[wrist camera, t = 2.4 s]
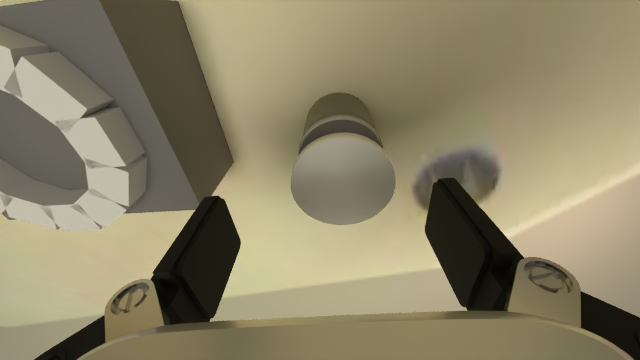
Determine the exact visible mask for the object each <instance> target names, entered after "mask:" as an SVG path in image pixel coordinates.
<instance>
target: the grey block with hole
mask: <svg viewBox="0 0 640 360" xmlns="http://www.w3.org/2000/svg"><path fill="white" fill-rule="evenodd" d="M232 164H233V160H232V157H231V154H230V151H229V148H228V145H227V142H226V139H225V136H224V134H223V131H222V128H221V125H220V122H219V119H218V116H217V113H216V110H215V108H214V105H213V102H212V99H211V96H210V93H209V90H208V87H207V85H206V82H205V79H204V76H203V73H202V70H201V67H200V64H199V61H198V59H197V56H196V53H195V50H194V47H193V44H192V41H191V38H190V35H189V33H188V30H187V27H186V24H185V21H184V18H183V15H182V12H181V9H180V7H179V4H178V1H169V0H44V1H37V2H30V3H23V4H15V5H8V6H1V7H0V213H1V214H3V215H4V216H5V217H6V218H8V219H9V220H14V219H18V220H22V221H25V222H29V223H32V224H36V225H40V226H43V227H47V228H50V229H54V230H58V229H59V228H61V229H62V230H63V231H76V230H97V229H101V228H102V227H104V228H106V227H107V226H108V225H109V224H111V223H112V222H113V221H114V220H116V219H117V218H118V217H119V216H121V215H122V214H124V213H143V212H161V211H180V210H196V209H197V207H198V206H199V204H200V203H201V201H202V200H203V198H204V197H208V196H211V195H212V194H213V192H214V191H215V189H216V188H217V186H218V185H219V183H220V182H221V180H222V179H223V177H224V176H225V174H226V173H227V171H228V170H229V168H230V167H231V165H232Z"/></svg>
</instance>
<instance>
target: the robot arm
mask: <svg viewBox="0 0 640 360" xmlns="http://www.w3.org/2000/svg"><path fill="white" fill-rule="evenodd" d="M425 233H426V236H427V238H428V240H429V242H430V244H431V246H432V248H433V250H434V252H435V254H436V256H437V258H438V260H439V262H440V264H441V266H442V268H443V270H444V272H445V274H446V277H447V279H448V281H449V283H450V285H451V287H452V288H453V291H454V293H455V295H456V297H457V299H458V301H459V303H460V304H461V306H463V307H466V308H467V310H468V311H445V312H444V311H442V312H415V313H387V314H363V315H340V316H317V317H295V318H273V319H253V320H233V321H215V322H209V321H210V319H211V318H213V317H214V316H215V314H216V311H217V309H218V306H219V303H220V300H221V298H222V295H223V292H224V290H225V287H226V284H227V282H228V279H229V276H230V273H231V271H232V268H233V265H234V263H235V260H236V257H237V254H238V252H239V249H240V245H241V241H240V238H239V235H238V233H237V230H236V228H235V225H234V223H233V220H232V218H231V215H230V213H229V210H228V207H227V205H226V202H225V200H224V199H221V198H220V197H219V196H208V197H204V198H203V200H202V201H201V203H200V204H199V206H198V207H197V209H196V210H195V212H194V213H193V215H192V216H191V217H190V219H189V220H188V222H187V223H186V225H185V226H184V228H183V229H182V231H181V232H180V233H179V235H178V236H177V238H176V239H175V241H174V242H173V244H172V245H171V247H170V248H169V250H168V251H167V252H166V254H165V255H164V257H163V258H162V260H161V261H160V263H159V264H158V266H157V267H156V269H155V270H154V271H153V274H154V275H153V277H152V278H151V280H149V279H140V280H136V281H133V282H131V283H129V284H127V285H126V286H124V287H122V288H121V289H120V290H119V291H117V292H116V293H115V294H114V295H113V296H112V298H111V299H110V300H109V302H108V303H107V305H106V308H105V315H104V316H102V317H101V318H99V319H97V320H96V321H94V322H93V323H91V324H89V325H88V326H86V327H85V328H83V329H81V330H80V331H78V332H77V333H75V334H73V335H72V336H70V337H69V338H67V339H65V340H64V341H62V342H60V343H59V344H57V345H56V346H54V347H52V348H51V349H49V350H48V351H46V352H44V353H43V354H42V355H40V356H39V357H37V358H36V359H34V360H640V318H639V317H637V316H635V315H632V314H630V313H628V312H626V311H624V310H622V309H619V308H617V307H615V306H613V305H610V304H608V303H606V302H604V301H602V300H599V299H597V298H595V297H592V296H590V295H588V294H586V293H584V292H581V289H580V286H579V283H578V282H577V280H576V279H575V277H574V276H573V275H572V274H571V273H570V272H568V271H567V270H566V269H564V268H563V267H561V266H560V265H558V264H556V263H553V262H551V261H549V260H546V259H542V258H537V257H528V258H524V257H523V256H522V255H521V254H520V253H519V251H518V250H517V249H516V248H515V247H514V246H513V244H512V243H511V242H510V241H509V240H508V239H507V238H506V236H505V235H504V234H503V233H502V232H501V231H500V229H499V228H498V227H497V226H496V225H495V224H494V222H493V221H492V220H491V219H490V218H489V217H488V216H487V214H486V213H485V212H484V211H483V210H482V209H481V208H480V207H479V206H478V205H477V204H476V202H475V201H474V200H473V199H472V198H471V197H470V195H469V194H468V193H467V192H466V191H465V190H464V189H463V187H462V186H461V185H460V184H459V183H458V182H457V180H456V179H455V178H442V179H438V181H437V182H435V183H434V184H433V188H432V193H431V199H430V204H429V209H428V215H427V220H426V225H425Z"/></svg>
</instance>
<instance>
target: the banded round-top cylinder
mask: <svg viewBox="0 0 640 360" xmlns="http://www.w3.org/2000/svg"><path fill="white" fill-rule="evenodd" d="M394 189H395V173H394V170H393V167H392V165H391V162H390V160H389V158H388V156H387V154H386V153H385V151H384V150H383V146H382V143H381V140H380V138H379V136H378V134H377V132H376V130H375V128H374V125H373V123H372V120H371V118H370V115H369V113H368V110H367V108H366V107H365V105H364V104H363V103H362V102H361V101H360V100H359V99H358V98H356V97H354V96H352V95H350V94H346V93H332V94H329V95H326V96H324V97H322V98H321V99H319V100H318V101H317V102H316V103H315V104H314V105H313V106H312V108H311V109H310V111H309V114H308V117H307V121H306V125H305V130H304V134H303V138H302V141H301V143H300V147H299V152H298V158H297V159H296V162H295V165H294V168H293V172H292V177H291V191H292V194H293V197H294V199H295V201H296V203H297V204H298V206H299V207H300V208H301V209H302V210H303V211H304V212H305V213H306V214H308V215H309V216H311V217H313V218H314V219H316V220H319V221H321V222H325V223H329V224H335V225H348V224H355V223H359V222H362V221H365V220H367V219H369V218H371V217H373V216H375V215H376V214H378V213H379V212H380V211H381V210H382V209H383V208H384V207H385V206H386V205H387V204H388V202H389V201H390V199H391V197H392V195H393V192H394Z"/></svg>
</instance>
